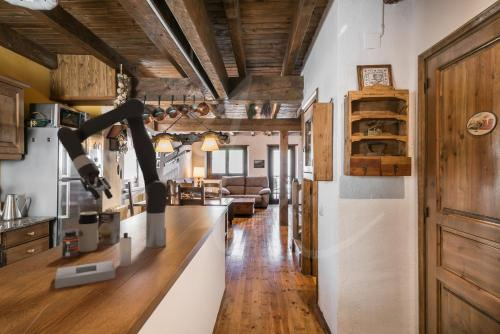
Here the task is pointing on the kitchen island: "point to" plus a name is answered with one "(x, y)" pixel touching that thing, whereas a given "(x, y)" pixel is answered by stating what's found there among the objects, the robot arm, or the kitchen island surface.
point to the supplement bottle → (70, 245)
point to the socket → (84, 274)
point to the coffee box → (109, 227)
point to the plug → (125, 250)
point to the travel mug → (87, 232)
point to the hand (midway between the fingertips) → (104, 198)
